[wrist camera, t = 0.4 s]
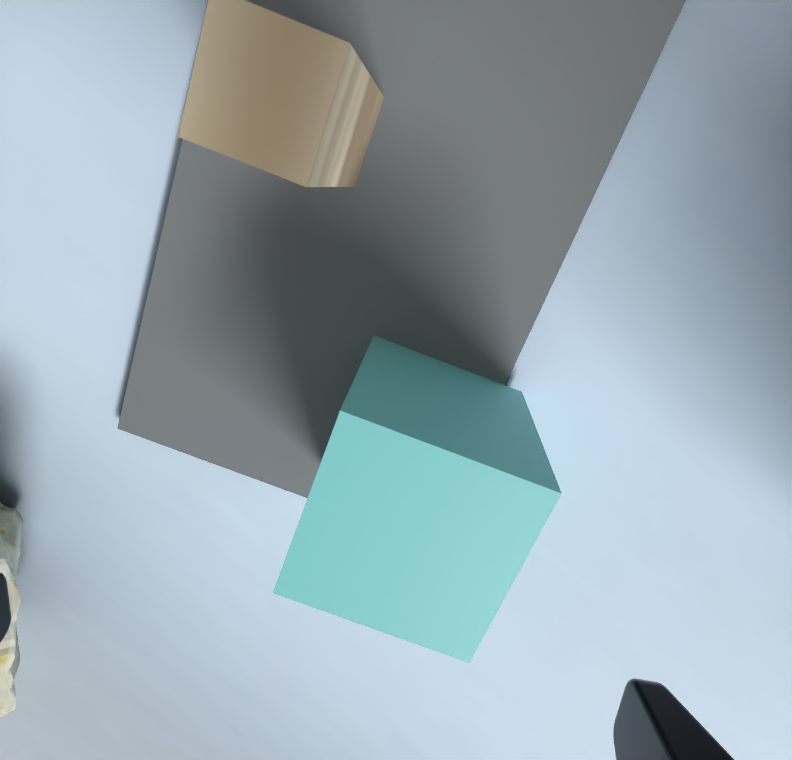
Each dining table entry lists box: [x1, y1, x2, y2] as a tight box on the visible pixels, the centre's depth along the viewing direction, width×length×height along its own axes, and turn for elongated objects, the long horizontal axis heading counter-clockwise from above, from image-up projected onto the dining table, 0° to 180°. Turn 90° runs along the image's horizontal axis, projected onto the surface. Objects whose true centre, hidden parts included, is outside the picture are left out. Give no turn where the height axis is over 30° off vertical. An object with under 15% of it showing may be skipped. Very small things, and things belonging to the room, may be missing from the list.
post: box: [178, 0, 384, 187], centre depth 14 cm, size 3×3×6 cm
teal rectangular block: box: [273, 336, 561, 663], centre depth 16 cm, size 5×5×7 cm
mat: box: [118, 0, 686, 498], centre depth 17 cm, size 12×25×1 cm, turn 159°
